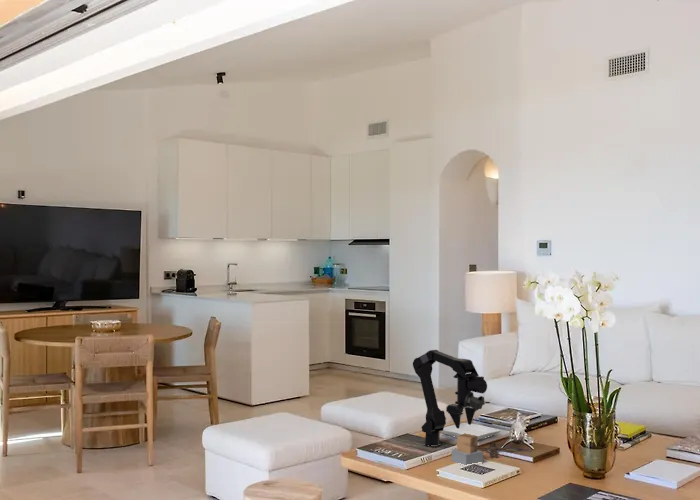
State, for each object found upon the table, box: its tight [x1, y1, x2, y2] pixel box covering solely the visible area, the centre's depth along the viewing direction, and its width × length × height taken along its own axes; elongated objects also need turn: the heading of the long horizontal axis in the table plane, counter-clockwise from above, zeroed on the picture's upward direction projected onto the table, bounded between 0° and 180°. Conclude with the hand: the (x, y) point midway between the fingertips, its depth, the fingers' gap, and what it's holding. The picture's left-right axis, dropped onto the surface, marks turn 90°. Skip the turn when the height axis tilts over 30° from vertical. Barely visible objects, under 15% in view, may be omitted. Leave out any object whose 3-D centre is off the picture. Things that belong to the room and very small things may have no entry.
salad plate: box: [440, 421, 502, 440], centre depth 333 cm, size 21×21×3 cm
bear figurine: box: [478, 441, 512, 459], centre depth 304 cm, size 18×4×14 cm
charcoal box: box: [451, 448, 484, 465], centre depth 291 cm, size 9×9×5 cm
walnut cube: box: [456, 433, 479, 453], centre depth 291 cm, size 6×6×6 cm
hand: (463, 426), depth 301 cm, fingers open, 9 cm apart
